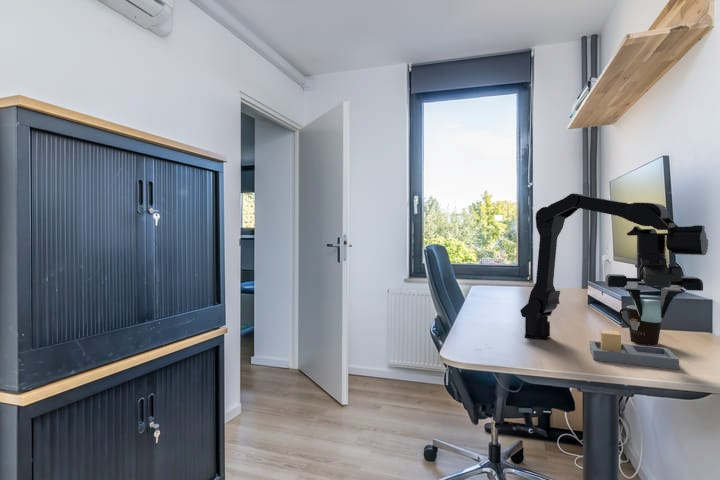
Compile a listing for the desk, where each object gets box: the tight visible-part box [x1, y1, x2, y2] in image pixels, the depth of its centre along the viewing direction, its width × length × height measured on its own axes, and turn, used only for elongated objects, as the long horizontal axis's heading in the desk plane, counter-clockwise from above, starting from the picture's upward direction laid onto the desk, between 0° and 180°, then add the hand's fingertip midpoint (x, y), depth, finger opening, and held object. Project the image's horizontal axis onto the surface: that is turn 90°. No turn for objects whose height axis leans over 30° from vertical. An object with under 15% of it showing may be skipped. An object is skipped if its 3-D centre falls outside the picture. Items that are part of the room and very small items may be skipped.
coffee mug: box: [618, 304, 663, 347], centre depth 114 cm, size 12×9×10 cm
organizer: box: [589, 340, 680, 370], centre depth 98 cm, size 17×10×2 cm, turn 64°
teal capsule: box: [641, 298, 662, 323], centre depth 96 cm, size 4×4×5 cm
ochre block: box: [600, 329, 622, 352], centre depth 100 cm, size 4×4×5 cm
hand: (651, 316), depth 96 cm, fingers closed on teal capsule, 4 cm apart
